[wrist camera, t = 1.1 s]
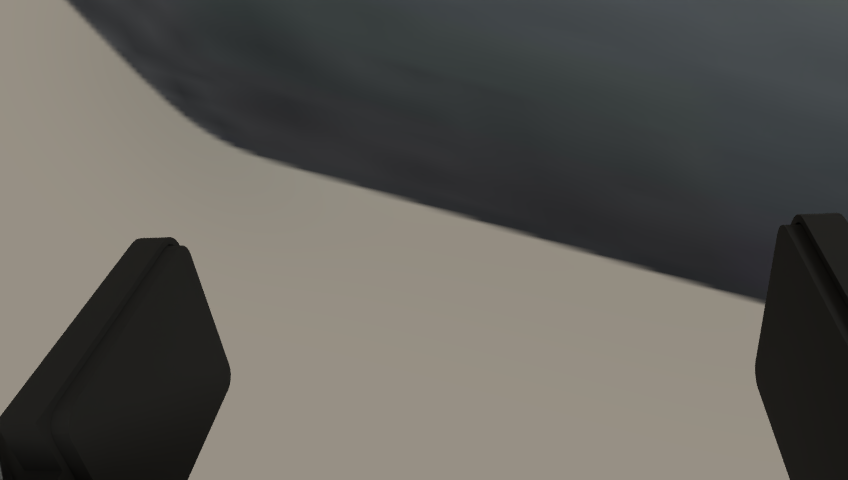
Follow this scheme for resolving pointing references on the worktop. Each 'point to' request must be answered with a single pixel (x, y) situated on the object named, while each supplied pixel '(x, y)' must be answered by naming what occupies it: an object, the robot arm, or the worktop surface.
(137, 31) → the worktop surface
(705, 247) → the worktop surface
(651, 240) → the worktop surface
